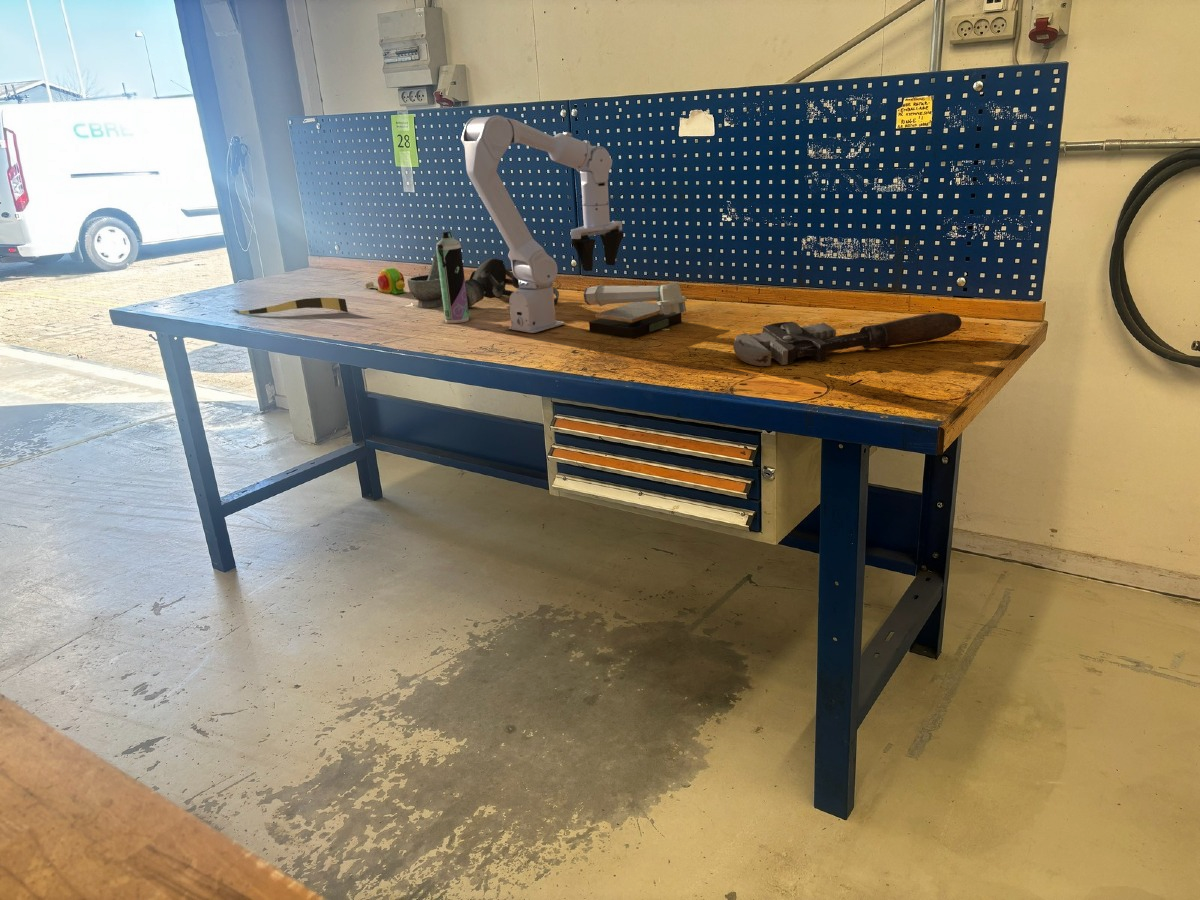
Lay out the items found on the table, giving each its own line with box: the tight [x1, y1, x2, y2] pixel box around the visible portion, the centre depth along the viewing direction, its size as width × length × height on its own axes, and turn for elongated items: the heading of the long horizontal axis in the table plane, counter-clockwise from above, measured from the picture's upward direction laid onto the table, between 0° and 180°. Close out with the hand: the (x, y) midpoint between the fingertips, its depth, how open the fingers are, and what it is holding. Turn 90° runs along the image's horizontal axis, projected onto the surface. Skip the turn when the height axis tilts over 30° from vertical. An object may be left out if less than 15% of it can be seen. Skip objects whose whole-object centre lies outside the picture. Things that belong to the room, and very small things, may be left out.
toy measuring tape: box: [364, 267, 406, 295], centre depth 237 cm, size 6×20×7 cm, turn 42°
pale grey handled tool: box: [583, 282, 687, 315], centre depth 177 cm, size 5×7×25 cm
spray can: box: [435, 231, 470, 324], centre depth 192 cm, size 6×6×20 cm
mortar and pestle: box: [407, 253, 443, 309], centre depth 213 cm, size 11×9×12 cm
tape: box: [232, 297, 349, 315], centre depth 216 cm, size 6×38×4 cm, turn 69°
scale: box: [588, 312, 682, 339], centre depth 179 cm, size 16×12×2 cm
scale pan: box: [594, 301, 660, 323], centre depth 178 cm, size 14×10×2 cm
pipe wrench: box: [732, 312, 963, 367], centre depth 154 cm, size 43×13×5 cm, turn 106°
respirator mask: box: [465, 257, 560, 309], centre depth 211 cm, size 20×22×15 cm
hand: (599, 267), depth 189 cm, fingers open, 7 cm apart
